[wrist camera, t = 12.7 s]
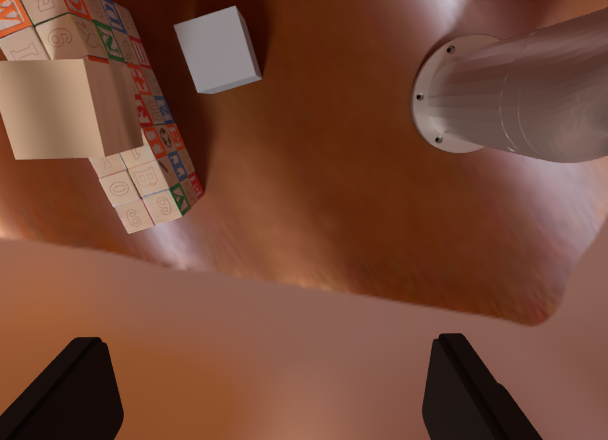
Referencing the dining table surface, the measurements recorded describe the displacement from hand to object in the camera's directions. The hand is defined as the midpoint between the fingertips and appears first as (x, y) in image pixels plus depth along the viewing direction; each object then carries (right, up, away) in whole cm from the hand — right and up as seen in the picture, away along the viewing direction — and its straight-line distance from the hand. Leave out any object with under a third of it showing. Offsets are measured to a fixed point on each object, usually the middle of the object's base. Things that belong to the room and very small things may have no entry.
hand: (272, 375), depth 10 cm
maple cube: (-16, +14, +17) cm, 27 cm away
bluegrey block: (-7, +22, +27) cm, 36 cm away
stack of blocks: (-18, +17, +30) cm, 38 cm away
